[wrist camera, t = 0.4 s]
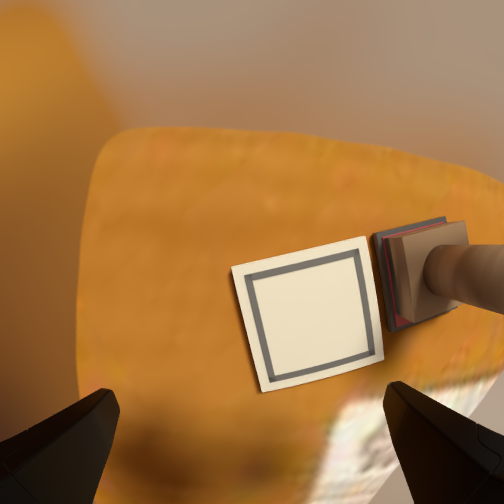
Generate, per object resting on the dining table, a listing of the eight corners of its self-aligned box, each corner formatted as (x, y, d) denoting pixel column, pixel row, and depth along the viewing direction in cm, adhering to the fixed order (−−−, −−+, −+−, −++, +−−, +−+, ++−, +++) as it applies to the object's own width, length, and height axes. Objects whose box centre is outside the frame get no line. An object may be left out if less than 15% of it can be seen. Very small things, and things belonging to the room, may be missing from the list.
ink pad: (452, 305, 21) (458, 307, 20) (388, 330, 22) (393, 333, 21) (440, 216, 21) (446, 215, 20) (372, 233, 22) (377, 232, 21)
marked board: (379, 355, 22) (384, 359, 21) (262, 386, 22) (262, 392, 21) (360, 236, 22) (365, 235, 20) (232, 266, 22) (230, 267, 21)
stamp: (453, 293, 20) (548, 317, 9) (396, 314, 21) (486, 360, 10) (443, 223, 20) (542, 211, 9) (384, 238, 20) (480, 233, 10)
